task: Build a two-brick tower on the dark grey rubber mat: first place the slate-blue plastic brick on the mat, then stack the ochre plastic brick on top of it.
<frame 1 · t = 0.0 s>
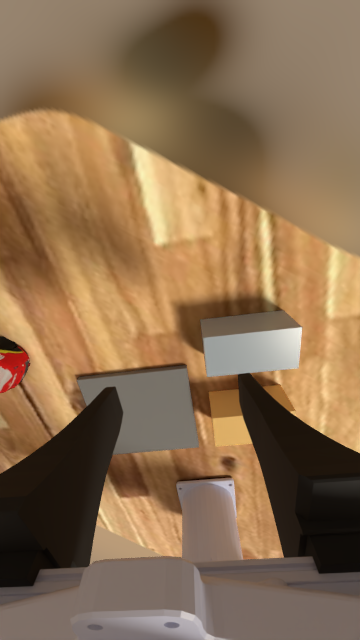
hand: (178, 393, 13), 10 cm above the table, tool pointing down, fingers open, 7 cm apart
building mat: (143, 412, 27), on the table
slate brick: (241, 332, 23), on the table
ochre brick: (244, 400, 27), on the table
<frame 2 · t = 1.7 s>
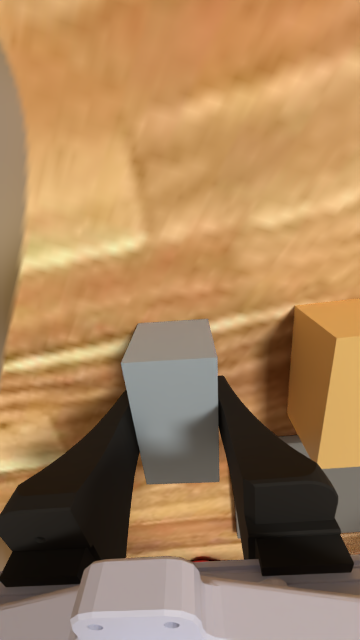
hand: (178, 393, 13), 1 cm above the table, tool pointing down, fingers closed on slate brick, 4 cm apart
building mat: (307, 486, 19), on the table
slate brick: (178, 378, 15), on the table, touching gripper
ochre brick: (322, 361, 14), on the table
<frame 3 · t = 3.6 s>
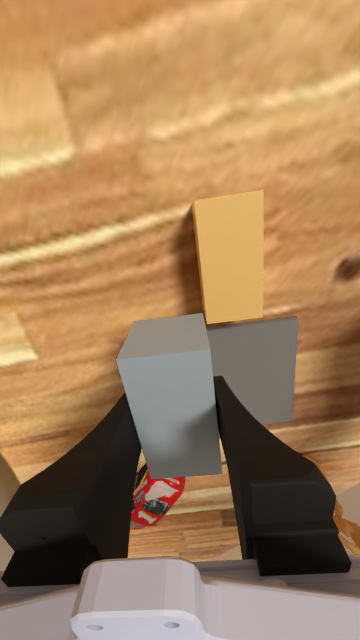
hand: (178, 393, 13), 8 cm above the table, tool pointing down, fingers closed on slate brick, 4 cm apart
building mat: (231, 378, 23), on the table
figurine: (302, 451, 28), on the table
slate brick: (177, 373, 15), point 7 cm above the table, touching gripper
race car: (147, 483, 31), on the table
ochre brick: (222, 255, 19), on the table
when the fingers open (3 cm above the table, at t = 5.5 s): slate brick stays where it is, resting on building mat.
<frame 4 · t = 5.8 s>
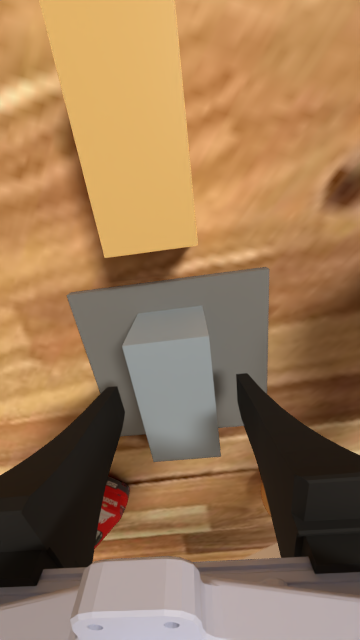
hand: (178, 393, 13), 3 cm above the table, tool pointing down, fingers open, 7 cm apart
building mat: (179, 362, 16), on the table
slate brick: (178, 363, 16), point 1 cm above the table, touching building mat
race car: (86, 500, 24), on the table
ochre brick: (146, 161, 12), on the table
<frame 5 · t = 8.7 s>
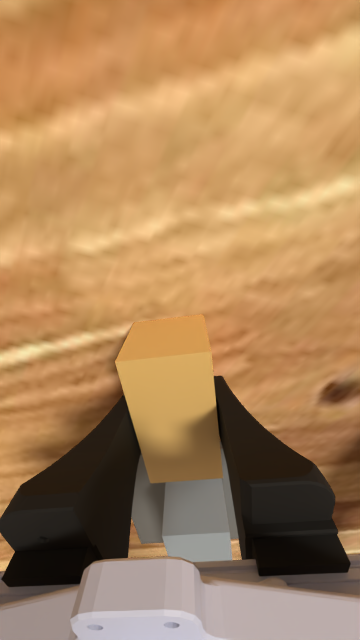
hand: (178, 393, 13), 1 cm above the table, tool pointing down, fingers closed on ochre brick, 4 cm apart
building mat: (198, 493, 19), on the table
slate brick: (198, 499, 19), point 1 cm above the table, touching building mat
ochre brick: (177, 375, 15), on the table, touching gripper
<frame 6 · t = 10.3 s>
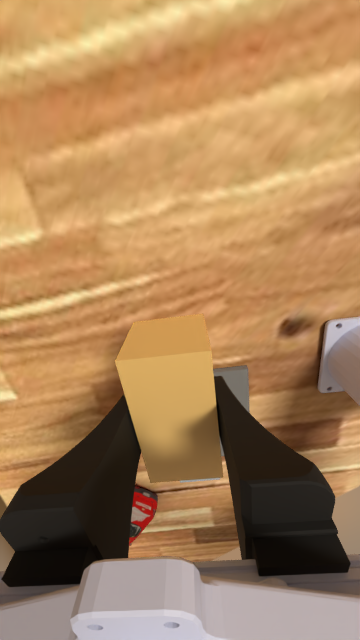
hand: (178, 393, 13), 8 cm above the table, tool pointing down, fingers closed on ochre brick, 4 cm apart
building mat: (193, 416, 25), on the table
race car: (124, 505, 33), on the table
ochre brick: (177, 375, 15), point 7 cm above the table, touching gripper
when the fingers open (7 cm above the table, at t = 12.0 s): ochre brick stays where it is, resting on slate brick.
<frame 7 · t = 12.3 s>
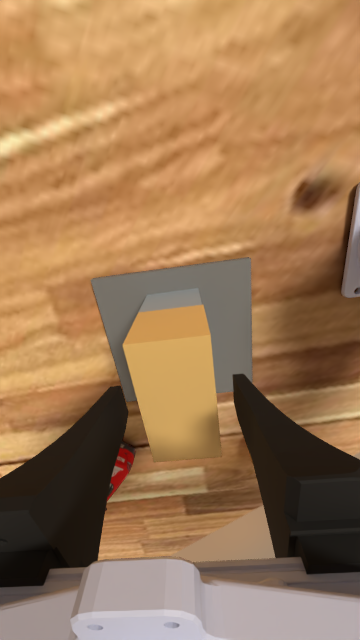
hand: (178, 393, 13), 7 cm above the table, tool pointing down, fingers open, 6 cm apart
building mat: (179, 337, 20), on the table
slate brick: (179, 337, 19), point 1 cm above the table, touching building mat, ochre brick
race car: (98, 465, 28), on the table
ochre brick: (179, 363, 16), point 5 cm above the table, touching slate brick
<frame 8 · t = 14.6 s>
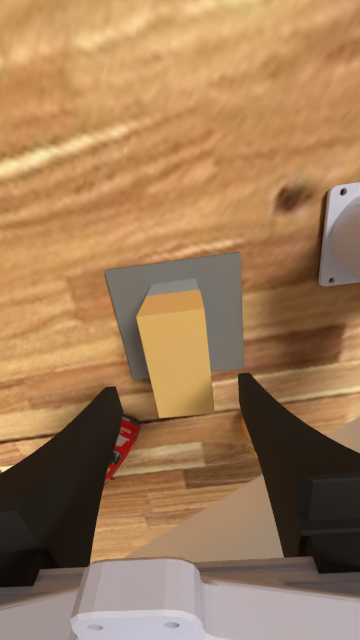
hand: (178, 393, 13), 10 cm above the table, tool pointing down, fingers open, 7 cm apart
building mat: (180, 321, 23), on the table
slate brick: (180, 321, 22), point 1 cm above the table, touching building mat, ochre brick
race car: (107, 441, 31), on the table
ochre brick: (180, 340, 19), point 5 cm above the table, touching slate brick
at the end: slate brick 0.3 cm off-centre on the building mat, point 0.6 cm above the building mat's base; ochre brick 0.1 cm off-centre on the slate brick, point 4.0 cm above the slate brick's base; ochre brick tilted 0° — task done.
